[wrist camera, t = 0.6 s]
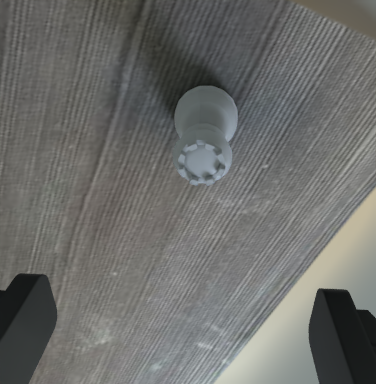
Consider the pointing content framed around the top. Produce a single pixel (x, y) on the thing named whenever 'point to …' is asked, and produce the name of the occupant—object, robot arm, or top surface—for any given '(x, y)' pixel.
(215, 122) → the rook chess piece
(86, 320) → the top surface
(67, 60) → the top surface
